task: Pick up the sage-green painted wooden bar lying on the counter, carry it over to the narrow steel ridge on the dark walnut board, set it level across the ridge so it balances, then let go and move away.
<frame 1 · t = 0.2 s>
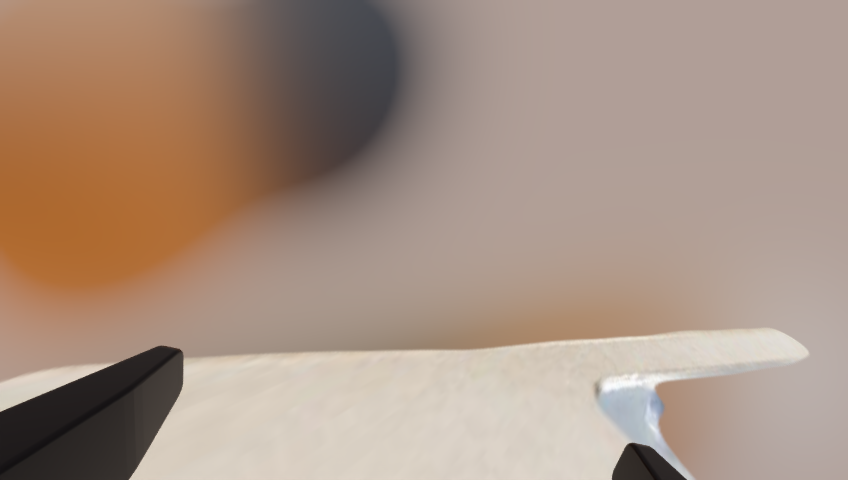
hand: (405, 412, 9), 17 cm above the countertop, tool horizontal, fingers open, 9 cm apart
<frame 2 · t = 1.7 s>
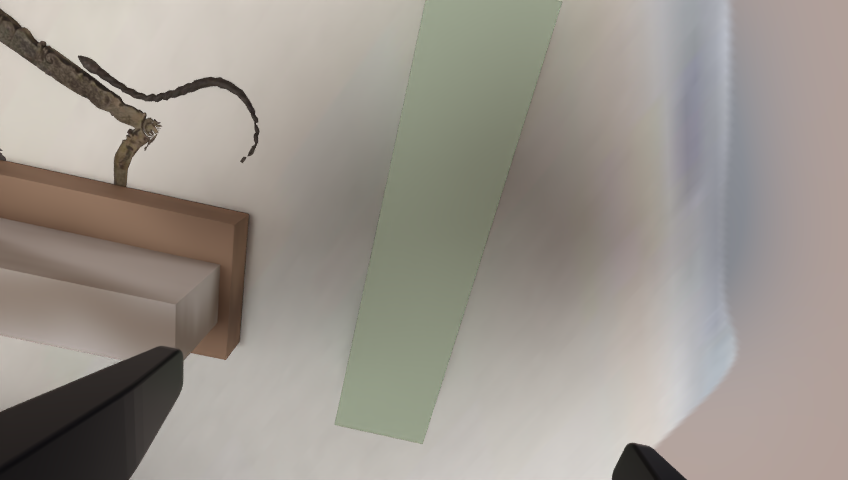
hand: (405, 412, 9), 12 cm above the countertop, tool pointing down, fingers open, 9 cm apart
ridge stand: (54, 241, 21), on the countertop
bar: (430, 218, 20), on the countertop
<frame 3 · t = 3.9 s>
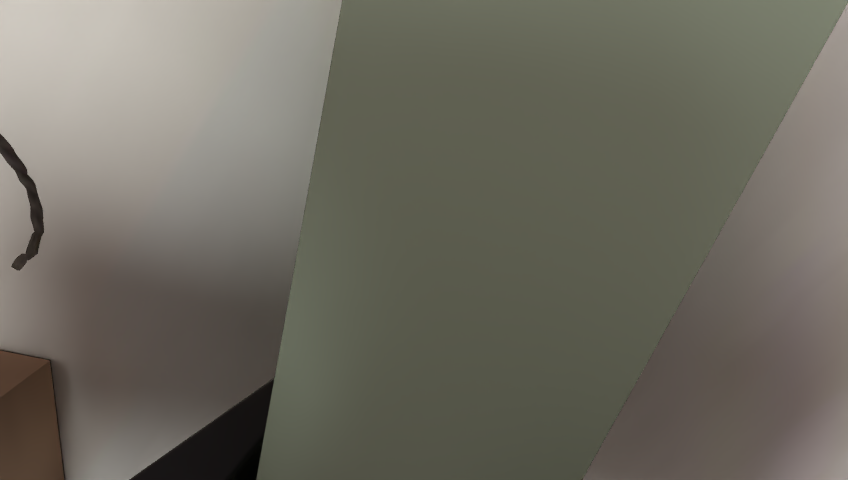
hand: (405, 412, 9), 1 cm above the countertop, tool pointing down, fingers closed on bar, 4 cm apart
bar: (410, 373, 10), on the countertop, touching gripper
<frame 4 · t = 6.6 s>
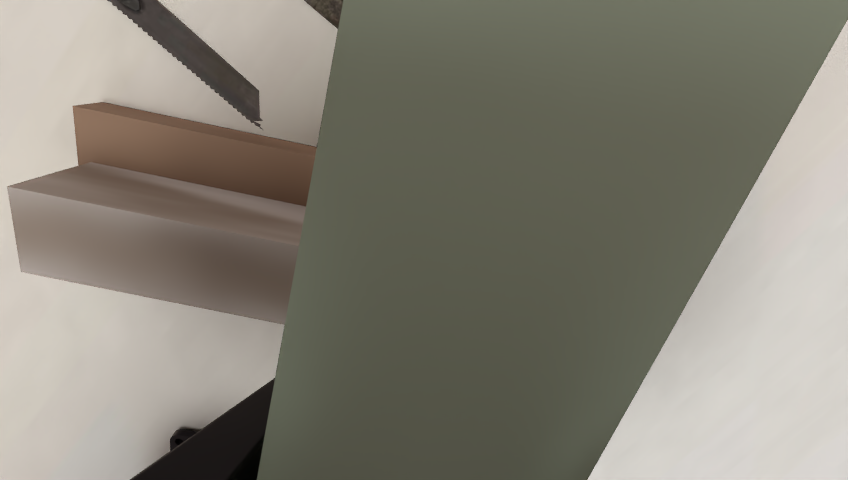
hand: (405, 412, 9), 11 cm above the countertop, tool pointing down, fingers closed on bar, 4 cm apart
ridge stand: (317, 229, 19), on the countertop
bar: (411, 373, 10), point 10 cm above the countertop, touching gripper
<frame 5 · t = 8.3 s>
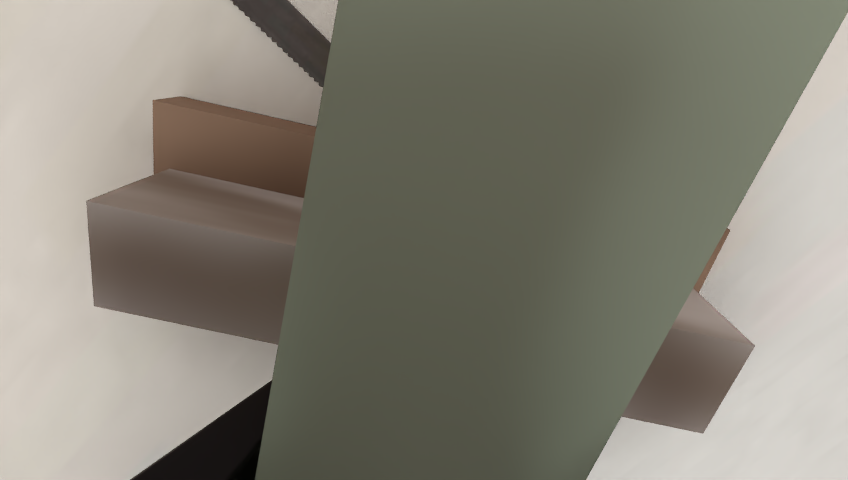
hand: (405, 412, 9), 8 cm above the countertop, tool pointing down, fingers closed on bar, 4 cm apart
ridge stand: (425, 250, 16), on the countertop
bar: (410, 373, 10), point 7 cm above the countertop, touching gripper
when the fingers open (7 cm above the countertop, at t = 9.5 s): bar stays where it is, resting on ridge stand.
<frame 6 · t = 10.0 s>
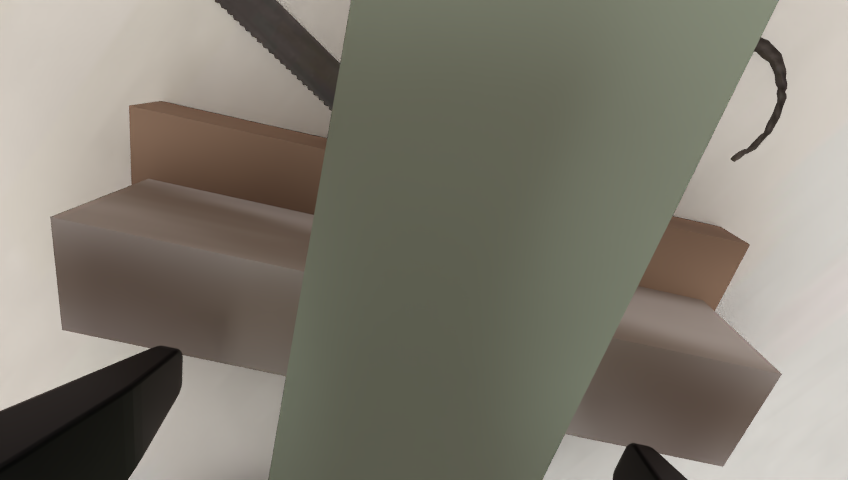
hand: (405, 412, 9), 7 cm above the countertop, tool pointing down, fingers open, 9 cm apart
ridge stand: (423, 264, 15), on the countertop
bar: (413, 351, 11), point 5 cm above the countertop, touching ridge stand
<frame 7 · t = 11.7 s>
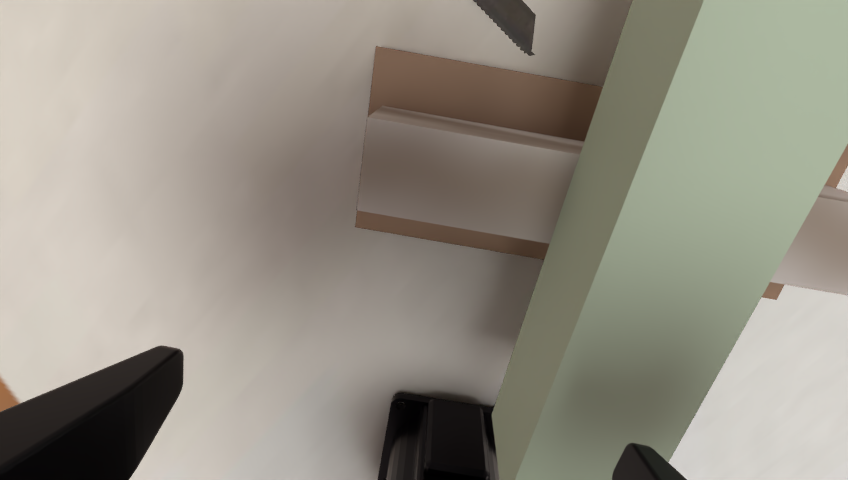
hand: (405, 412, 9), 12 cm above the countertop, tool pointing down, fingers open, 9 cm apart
ridge stand: (582, 174, 19), on the countertop
bar: (626, 211, 14), point 5 cm above the countertop, touching ridge stand
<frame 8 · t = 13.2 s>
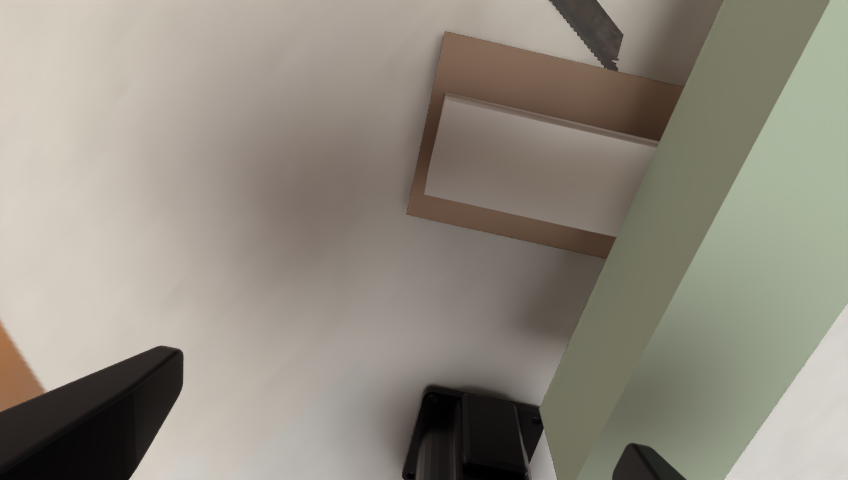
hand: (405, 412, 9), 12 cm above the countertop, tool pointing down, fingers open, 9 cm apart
ridge stand: (635, 172, 19), on the countertop
bar: (696, 207, 14), point 5 cm above the countertop, touching ridge stand
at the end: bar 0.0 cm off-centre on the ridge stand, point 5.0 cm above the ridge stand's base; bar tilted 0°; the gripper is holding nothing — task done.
